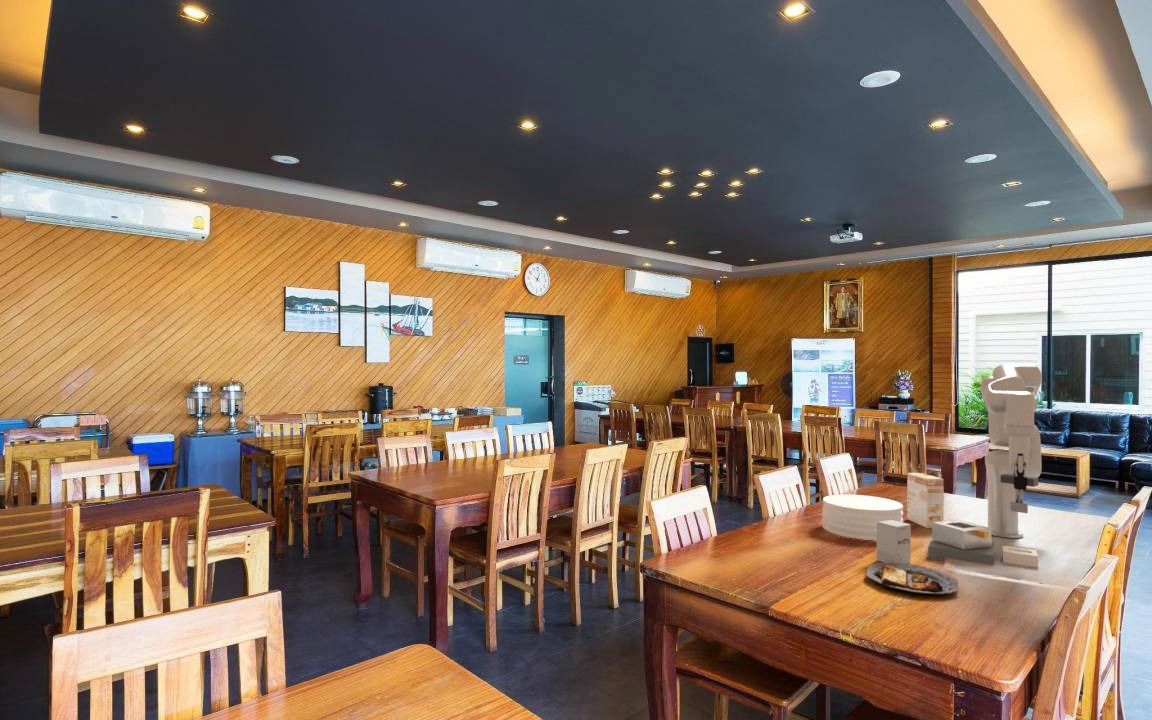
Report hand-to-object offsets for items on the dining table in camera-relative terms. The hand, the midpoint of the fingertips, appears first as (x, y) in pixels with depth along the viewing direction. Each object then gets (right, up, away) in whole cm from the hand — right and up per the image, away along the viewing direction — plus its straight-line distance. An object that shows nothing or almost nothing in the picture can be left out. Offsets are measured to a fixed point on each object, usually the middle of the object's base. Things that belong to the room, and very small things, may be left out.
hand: (1019, 487), depth 200 cm
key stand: (0, -25, 0) cm, 25 cm away
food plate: (-45, -25, -19) cm, 54 cm away
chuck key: (0, -8, 0) cm, 8 cm away
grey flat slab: (-13, -25, +9) cm, 30 cm away
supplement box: (-40, -25, +2) cm, 47 cm away
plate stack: (-32, -26, +40) cm, 57 cm away
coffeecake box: (-1, -26, +52) cm, 58 cm away
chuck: (-13, -20, +7) cm, 25 cm away
